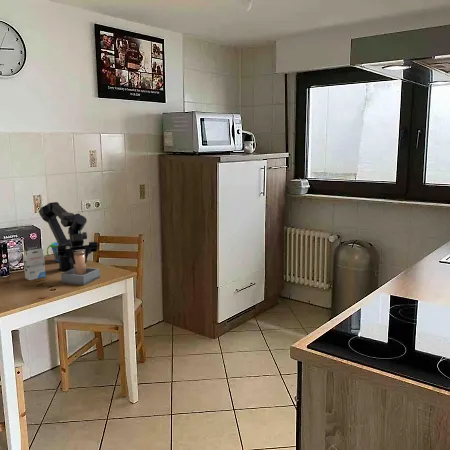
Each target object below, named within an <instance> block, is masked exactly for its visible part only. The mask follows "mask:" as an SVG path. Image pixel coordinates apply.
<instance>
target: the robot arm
mask: <svg viewBox="0 0 450 450" xmlns="http://www.w3.org/2000/svg"><path fill="white" fill-rule="evenodd" d="M38 213H39V216H40V217H41V218H42V221H44V222H46V223H48V225H49V228H50V230H51V232H52V234H53V237H54V238H55V242H57V243H58V246H57V252H56V254H55V256H56V259H59V262H58V265H59V266H58V267H59V268H57V271H62V272H63V271H64V272H66V271H69V270H71V269H74V268H75V260H74V253H73V252H74V251H78V250H84V251H85V263H86V264H87V262H88V257H89V254H91V253H95V252H96V253H97V252H98V249H99V243H98V242H97V241H96V240H95V241H88V244H85V245H84V243H85V242H84V240H87V239H88V233H87V232H86V231H85V232H84V231H83V232H82V230H83V229H84V228H85V225H86V223H87V222H88V221H87V218H86V217H85V216H84V215H82V214H81V213H73V212H68V211H67V210H66V209H65V208H63V206H61V205H60V203H59V202H58V201H54V202H49V203H46V204H45V205H44V206H41V208H40V209H39V210H38ZM57 218H58V219H60V223H61V224H60V223H59V221H58V219H57ZM61 225H62V226H61ZM62 227H64V228H68V229H67V234H68V237H69V238H68V239H67V236H66V234H65V233H64V231H63V228H62Z"/></svg>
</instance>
